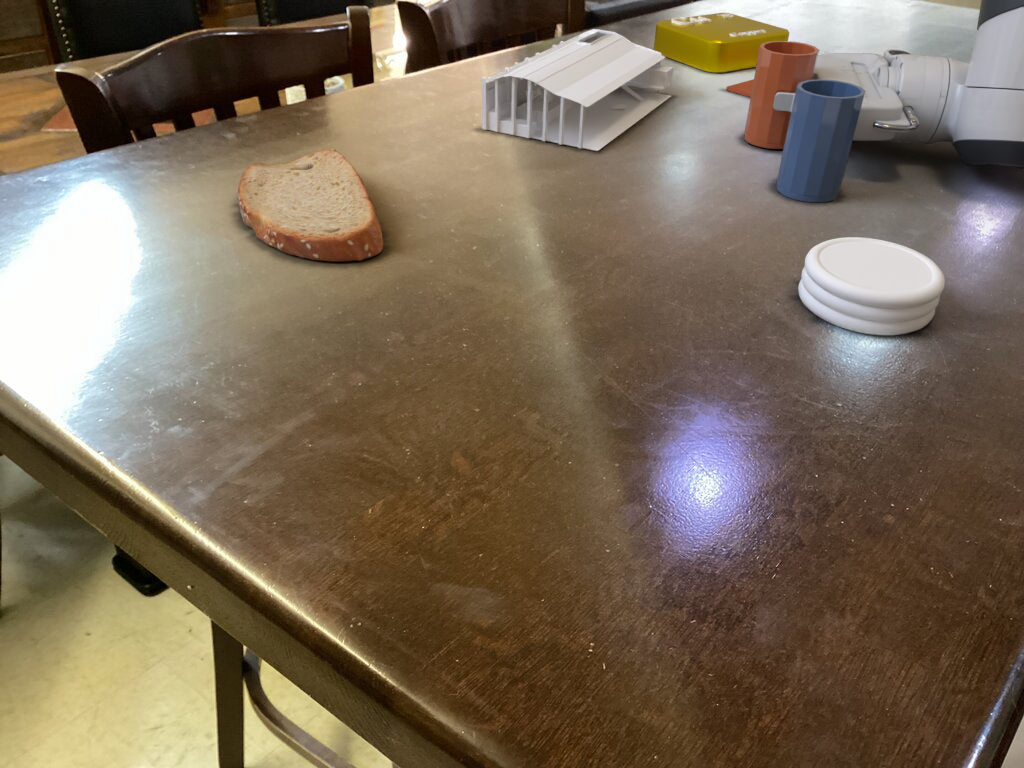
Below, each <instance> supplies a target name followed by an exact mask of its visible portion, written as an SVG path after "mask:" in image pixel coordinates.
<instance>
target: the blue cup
mask: <svg viewBox="0 0 1024 768" xmlns="http://www.w3.org/2000/svg"><path fill="white" fill-rule="evenodd" d="M865 92H866V91H865V90H864V89H862V88H861V87H860V86H857V85H854V84H851V83H847V82H842V81H837V80H824V79H817V80H806V81H803V82H800V83H799V84H798V85H797V88H796V93H795V97H794V102H793V107H792V112H791V116H790V121H789V126H788V130H787V135H786V140H785V145H784V149H782V153H781V160H780V164H779V168H778V173H777V177H776V185H775V186H776V187H775V188H776V190H777V191H778V193H779V194H781V195H782V196H785V197H786V198H789V199H792V200H795V201H799V202H805V203H828V202H832V201H834V200H835V199H837V198H838V197H839V194H840V190H841V188H842V184H843V181H844V180H843V179H844V175H845V173H846V172H845V171H846V168H847V164H848V161H849V156H850V153H851V149H852V146H853V141H854V140H853V138H854V134H855V130H856V126H857V123H858V119H859V115H860V111H861V107H862V103H863V100H864V96H865Z"/></svg>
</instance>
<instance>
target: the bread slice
mask: <svg viewBox="0 0 1024 768" xmlns="http://www.w3.org/2000/svg"><path fill="white" fill-rule="evenodd" d="M237 202H238V208H239V211H240V216H241V218H242V221H243V224H244V225H245V226H247V227H248V228H250V229H252V230H253V231H254V234H255V236H256V238H258V239H259V240H260V241H262V242H263V243H265V244H266V245H268V246H270V247H272V248H275V249H277V250H279V251H281V252H284V253H285V254H288V255H292V256H297V257H299V258H304V259H309V260H313V261H325V262H351V261H352V262H353V261H363V260H367V259H369V258H372V257H374V256H377V255H379V254H380V253H381V252H382V251H383V249H384V240H383V233H382V232H383V231H382V226H381V222H380V220H379V217H378V214H377V211H376V208H375V206H374V204H373V202H372V199H371V197H370V195H369V194H368V190H367V188H366V186H365V184H364V181H363V179H362V178H361V176H360V175H359V172H358V171H357V169H356V168H355V167H354V166H353V164H352V163H350V162H349V160H347V158H346V157H345V156H344V155H343V154H342V153H340V152H338V151H337V150H336V149H335V148H331V149H329V148H326V149H323V150H318V151H315V152H313V153H310V154H306V155H302V156H300V157H298V158H296V159H293V160H291V161H288V162H286V163H278V164H277V163H275V164H267V163H261V162H260V163H259V162H256V163H254V162H253V163H251V164H250V163H249V165H247V167H246V168H245V169H244V171H243V172H242V175H241V178H240V180H239V183H238V188H237Z"/></svg>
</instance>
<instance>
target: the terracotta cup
mask: <svg viewBox="0 0 1024 768" xmlns="http://www.w3.org/2000/svg"><path fill="white" fill-rule="evenodd" d="M819 53H820V49H819V48H818V47H817V46H815V45H812V44H809V43H805V42H798V41H789V40H788V41H771V42H766V43H762V44H761V46H760V48H759V54H758V59H757V65H756V67H755V72H754V76H753V77H754V78H753V79H754V82H753V87H752V93H751V97H750V99H749V105H748V109H747V111H748V112H747V116H746V121H745V127H744V136H743V137H744V138H743V139H744V140H745V141H746V142H747V143H749V144H750V145H753V146H754V147H755V146H756V147H759V148H762V149H763V148H764V149H770V150H783V149H784V145H785V140H786V135H787V130H788V126H789V121H790V116H791V112H788V111H777V110H775V109H774V108H773V100H774V95H775V92H776V91H777V90H788V91H793V93H796V88H797V85H798V84H799V83H800V82H803V81H806V80H813V76H814V71H815V67H816V62H817V58H818V55H819Z"/></svg>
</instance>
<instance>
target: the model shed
mask: <svg viewBox="0 0 1024 768" xmlns="http://www.w3.org/2000/svg"><path fill="white" fill-rule="evenodd" d="M666 58H667V57H665V56H663V55H661V52H658V51H655V50H654V49H651V48H648V47H647V46H642V45H640V44H637V43H634V42H632V41H630V40H629V39H628V38H626V37H625V36H623V35H621V34H619V33H617V31H616V32H615V31H610V30H605V29H596V28H592V29H590V30H589V29H588V30H587V31H584V32H583V33H580V34H578V35H575V36H573V37H571V38H568V39H567V40H565V41H563V40H561V41H559V43H558V44H552V45H551V47H550V48H548V49H546V50H544V51H542V52H538V51H537V52H535V55H533V56H531V57H524V60H523V61H521V62H517V61H516V62H514V63H513V65H512V66H510V67H509V66H505V67H503V70H502V71H500V72H497V73H496V74H494V75H490V76H489V77H488V76H482V77H481V85H480V86H481V129H482V130H485V131H487V130H489V131H492V132H495V133H502V134H506V135H511V136H516V137H522V138H527V139H536V140H540V141H542V142H546V141H547V142H551V143H555V144H558V145H561V146H562V145H566V146H570V147H575V148H578V149H584V150H585V149H586V150H590V151H595V152H598V151H600V150H601V149H602V148H604V147H605V146H606V145H608V144H609V143H611V142H612V141H614V139H616V138H617V137H618V136H620V135H622V134H623V133H624V132H625V131H627V130H628V129H630V128H631V127H632V126H633V125H635V124H636V123H638V122H639V121H640V120H641V119H643V118H644V117H645V116H647V115H648V114H650V113H651V112H653V111H654V110H655V109H656V108H657V107H659V106H661V104H663V103H664V102H665V101H667V100H668V99H669V98H671V97H672V95H670V94H663V93H658V91H660V92H662V91H665V89H667V88H668V87H670V86H671V85H672V83H673V76H674V75H673V74H674V67H673V66H666V65H661V61H662V60H664V59H666Z"/></svg>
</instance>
